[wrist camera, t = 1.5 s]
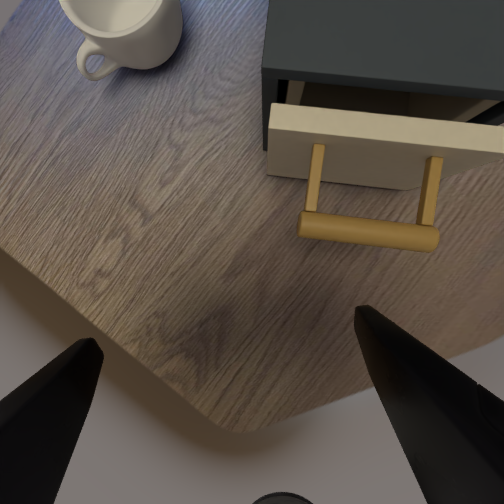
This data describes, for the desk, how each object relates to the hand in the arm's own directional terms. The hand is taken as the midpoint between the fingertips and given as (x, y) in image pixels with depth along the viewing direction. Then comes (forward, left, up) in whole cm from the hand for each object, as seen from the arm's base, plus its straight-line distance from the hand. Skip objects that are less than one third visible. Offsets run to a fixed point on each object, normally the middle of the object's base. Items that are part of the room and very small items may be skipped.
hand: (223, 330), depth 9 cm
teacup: (+21, -3, -14) cm, 26 cm away
